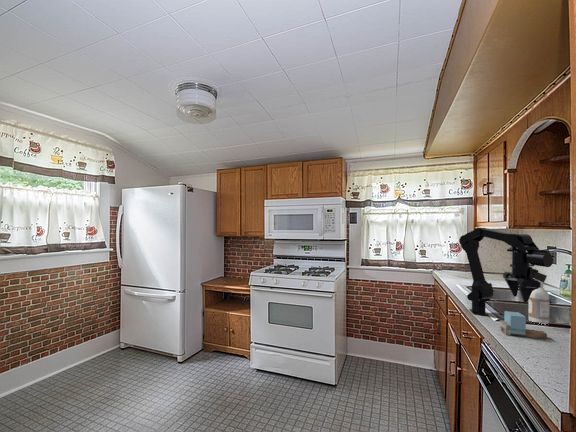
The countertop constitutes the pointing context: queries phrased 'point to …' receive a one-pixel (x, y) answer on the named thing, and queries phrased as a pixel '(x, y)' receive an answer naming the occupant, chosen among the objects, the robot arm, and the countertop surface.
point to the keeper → (516, 322)
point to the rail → (529, 333)
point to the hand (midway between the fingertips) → (520, 299)
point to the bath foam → (539, 306)
